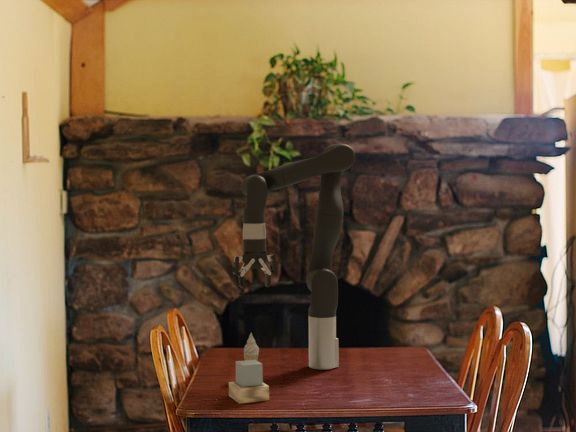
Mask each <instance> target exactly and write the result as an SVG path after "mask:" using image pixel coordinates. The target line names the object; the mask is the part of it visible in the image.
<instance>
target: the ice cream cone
mask: <svg viewBox="0 0 576 432" xmlns="http://www.w3.org/2000/svg"><path fill="white" fill-rule="evenodd" d="M259 353H260V347H259V346H258V345H257V343H256V340H255V338H254V336H253V333H252V332H250V334H249V336H248V339H247V340H246V344H245V345H244V348H243V353H242V356H243V357H244V361H245V360H257V361H258V358H259V355H260V354H259Z"/></svg>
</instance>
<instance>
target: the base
mask: <svg viewBox="0 0 576 432" xmlns="http://www.w3.org/2000/svg"><path fill="white" fill-rule="evenodd" d="M228 396H229V397H230V398H231V399H233V400H234V401H235V402H236V403H237V404H239V405H240V404H247V403H256V402H263V401H270V386H269V385H268V384H266V383H265V382H263V385H255V386H246V387H242V386H241V385H239V384H238V383H236V380H234V381H228Z"/></svg>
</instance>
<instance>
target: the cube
mask: <svg viewBox="0 0 576 432" xmlns="http://www.w3.org/2000/svg"><path fill="white" fill-rule="evenodd" d="M263 373H264V372H263V363H262V362H260V361H258V359H257V360H245V359H244V360H236V361H235V381H236V383H238V384H239V385H241V386H242V387H246V386H255V385H263V383H264V379H263Z"/></svg>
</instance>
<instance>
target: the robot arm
mask: <svg viewBox="0 0 576 432" xmlns="http://www.w3.org/2000/svg"><path fill="white" fill-rule="evenodd" d="M355 161H356V153H355V151H354V149H353V147H351V146H350V145H348V144H346V143H333V144H330V145H328V146H326V147H325V148H324V150H323V151H322V153H321V154H318V155H316V156H313V157H309V158H306V159H301V160H297V161H293V162H290V163H286V164H282V165H280V166H276V167H274V168H272V169H270V170H267V171H263V172H259V173H256V174H251V175H247V176H246V177H245V178H243V180H242V181H241V183H240V191H241V193H242V195H244V196H246V205H245V206H244V208H243V213H242V214H243V219H242V221H243V224H242V225H243V226H242V255H241V256H239V255H238V256H237V255H234V256H233V258H232V274H233V275H235V276H237V277H238V287H240V289H245V282H246V281H245V274H246V273H247V272H248V271H249V270H255V269H258V270H259V269H261V270H262V271H263V272H264V287H266V288H269V287H270V286H271V284H272V275H273V274H276V273H277V258H276V254H269V255H267V229H266V206H267V199H268V192H271V191H273V190H276V191H277V190H280V189H283V188H287V187H290V186H293V185H295V184H298V183H300V182H303V181H306V180H309V179H311V178H315V177H317V176H320V183H319V184H320V185H319V191H318V198H317V206H316V211H315V212H316V213H315V218H314V219H315V220H314V230H313V238H312V251H311V256H310V261H309V265H308V271H307V274H306V281H305V283H306V286H307V289H308V290H309V291H310V305H309V307H308V310H307V311H308V367H309V368H310V369H314V370H332V369H334V368H339V367H340V366H339V354H340V353H339V338H337V309H338V304H339V301H338V300H339V281H338V277H337V275H336V274H335V272H334V271H332V265H333V264H332V263H333V255H334V252H335V249H336V246H337V245H338V242H339V238H340V235H341V232H342V229H343V222H344V203H343V198H342V197H343V196H342V193H341V192H342V191H341V181H342V176H343V172H345V171H347V170H349V169H350V168H351V167H353V165H354V164H355ZM267 260H268V262H269V267H268V266H267V264H266V262H267ZM241 262H243V265H242V266H241V267H240V263H241ZM239 268H240V269H239ZM269 268H270V269H269Z"/></svg>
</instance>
